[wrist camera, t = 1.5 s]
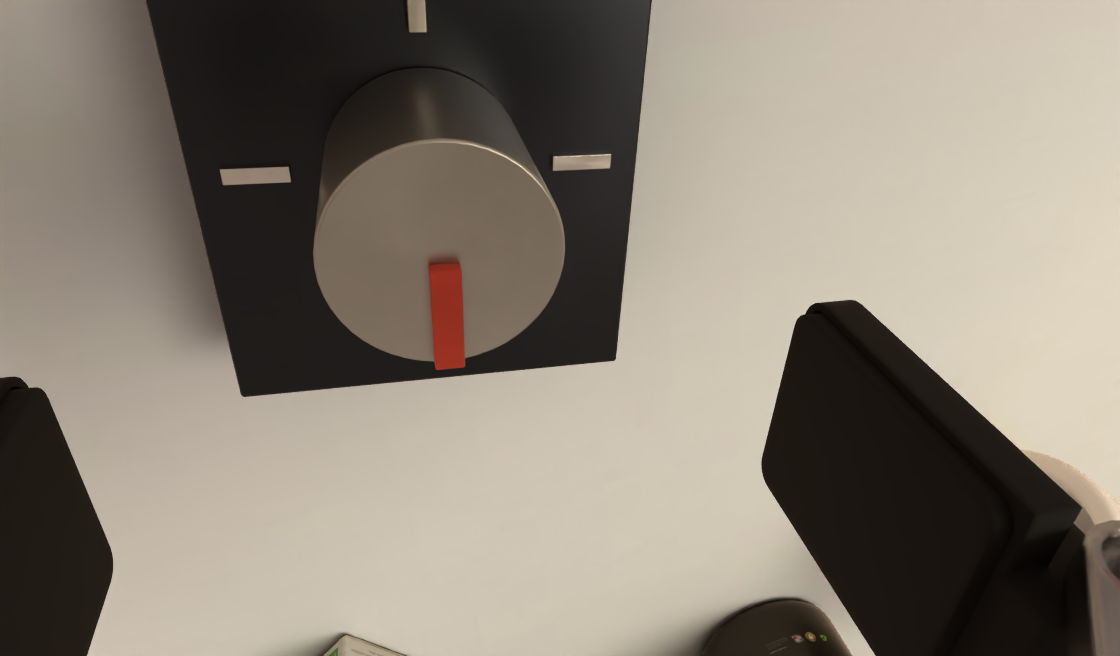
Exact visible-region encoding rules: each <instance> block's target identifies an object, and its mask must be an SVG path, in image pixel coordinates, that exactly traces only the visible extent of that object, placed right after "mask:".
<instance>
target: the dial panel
mask: <svg viewBox="0 0 1120 656" xmlns="http://www.w3.org/2000/svg"><path fill="white" fill-rule="evenodd" d="M651 3H652V0H146V4H147V8H148V12H149V16H150V21H151V25H152V29H153V33H154V37H155V41H156V45H157V50H158V54H159V58H160V62H161V66H162V70H163V74H164V78H165V83H166V87H167V91H168V95H169V99H170V103H171V107H172V112H173V116H174V120H175V124H176V128H177V132H178V136H179V141H180V145H181V149H182V153H183V157H184V161H185V165H186V169H187V174H188V178H189V182H190V186H191V190H192V194H193V198H194V203H195V207H196V211H197V215H198V219H199V223H200V227H201V231H202V236H203V240H204V244H205V248H206V252H207V256H208V260H209V265H210V269H211V273H212V277H213V281H214V285H215V289H216V293H217V298H218V302H219V306H220V310H221V314H222V318H223V322H224V327H225V331H226V335H227V339H228V343H229V347H230V351H231V356H232V360H233V364H234V368H235V372H236V376H237V380H238V384H239V389H240V393H241V395H242V397H249V396H259V395H269V394H280V393H290V392H300V391H310V390H320V389H331V388H341V387H351V386H361V385H372V384H382V383H392V382H402V381H412V380H423V379H433V378H443V377H453V376H463V375H474V374H484V373H494V372H504V371H515V370H525V369H535V368H545V367H555V366H566V365H576V364H586V363H596V362H607V361H614V360H615V359H616V352H617V342H618V332H619V322H620V312H621V302H622V292H623V282H624V272H625V262H626V252H627V242H628V232H629V222H630V213H631V203H632V193H633V183H634V173H635V163H636V153H637V143H638V133H639V123H640V113H641V103H642V93H643V83H644V73H645V63H646V53H647V43H648V33H649V23H650V13H651ZM410 68H435V69H440V70H445V71H449V72H452V73H456V74H459V75H461V76H464V77H466V78H468V79H470V80H472V81H474V82H475V83H477V84H478V85H480V86H481V87H483V88H484V89H486V90H487V91H488V92H489V93H490V94H491V95H493V96H494V97H495V98H496V99H497V101H498V102H499V103H500V104H501V105H502V106H503V107H504V109H505V110H506V112H507V113H508V115H509V116H510V118H511V120H512V122H513V124H514V126H515V127H516V129H517V131H518V133H519V135H520V137H521V139H522V141H523V143H524V145H525V146H526V148H527V150H528V152H529V154H530V156H531V158H532V160H533V162H534V164H535V166H536V167H537V169H538V171H539V173H540V175H541V177H542V179H543V181H544V183H545V185H546V187H547V188H548V190H549V192H550V194H551V196H552V198H553V200H554V202H555V204H556V206H557V208H558V211H559V214H560V217H561V220H562V224H563V230H564V236H565V255H564V264H563V268H562V272H561V276H560V279H559V282H558V284H557V286H556V289H555V291H554V293H553V295H552V297H551V299H550V300H549V302H548V304H547V305H546V307H545V308H544V309H543V311H542V312H541V313H540V315H539V316H538V317H537V318H536V319H535V320H534V321H533V322H532V323H531V324H530V325H529V326H528V327H527V328H526V329H525V330H523V331H522V332H521V333H520V334H518V335H517V336H516V337H514V338H513V339H511V340H509V341H508V342H506V343H505V344H503V345H501V346H499V347H497V348H495V349H493V350H490V351H488V352H485V353H482V354H480V355H476V356H472V357H468V358H465V367H463V368H452V369H442V370H436V368H435V362H434V361H419V360H413V359H408V358H403V357H400V356H396V355H393V354H389V353H387V352H385V351H382V350H380V349H378V348H375V347H374V346H372V345H370V344H368V343H367V342H365V341H363V340H362V339H360V338H359V337H358V336H356V335H355V334H354V333H352V332H351V331H350V330H349V329H348V328H347V327H346V326H345V325H344V324H343V323H342V322H341V321H340V320H339V319H338V318H337V316H336V315H335V314H334V312H333V311H332V310H331V309H330V307H329V305H328V303H327V302H326V300H325V298H324V296H323V294H322V292H321V289H320V287H319V284H318V281H317V277H316V273H315V269H314V258H313V247H314V235H315V226H316V217H317V208H318V199H319V190H320V181H321V172H322V163H323V154H324V146H325V142H326V137H327V134H328V131H329V128H330V126H331V123H332V121H333V119H334V118H335V116H336V114H337V112H338V111H339V109H340V108H341V107H342V106H343V104H344V103H345V102H346V100H347V99H348V98H349V97H351V96H352V95H353V94H354V93H355V92H356V91H357V90H358V89H360V88H361V87H362V86H364V85H365V84H367V83H368V82H370V81H372V80H374V79H376V78H378V77H380V76H382V75H385V74H388V73H391V72H394V71H398V70H403V69H410Z"/></svg>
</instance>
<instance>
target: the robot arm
mask: <svg viewBox="0 0 1120 656" xmlns="http://www.w3.org/2000/svg"><path fill="white" fill-rule="evenodd" d="M762 473H763V477H764V480H765V482H766V484H767V486H768V488H769V489H770V491H771V492H772V494H773V496H774V497H775V499H776V500H777V502H778V503H779V505H780V507H781V508H782V510H783V511H784V513H785V514H786V516H787V518H788V519H789V521H790V522H791V524H792V525H793V527H794V528H795V530H796V532H797V533H798V535H799V536H800V538H801V539H802V541H803V543H804V544H805V546H806V547H807V549H808V550H809V552H810V554H811V555H812V557H813V558H814V560H815V561H816V563H817V564H818V566H819V568H820V569H821V571H822V572H823V574H824V575H825V577H826V579H827V580H828V582H829V583H830V585H831V586H832V588H833V590H834V591H835V593H836V594H837V596H838V597H839V599H840V600H841V602H842V604H843V605H844V607H845V608H846V610H847V611H848V613H849V615H850V616H851V618H852V619H853V621H854V622H855V624H856V626H857V627H858V629H859V630H860V632H861V633H862V635H863V636H864V638H865V640H866V641H867V643H868V644H869V646H870V647H871V649H872V651H873V652H874V654H875V655H876V656H1120V520H1110V521H1106V522H1103V523H1099V524H1096V525H1095V526H1094V527H1093V528H1092V529H1091V530H1090V531H1088V532H1087V534H1086V535H1085V534H1084V533H1083V532H1082V531H1081V530H1080V529H1079V528H1078V527H1077V526H1076V525H1075V524H1074V522H1075V520H1076V518H1077V516H1078V515H1079V513H1080V511H1081V510H1082V508H1083V507H1081V506H1080V505H1079V504H1078V503H1077V502H1076V501H1075V500H1074V499H1073V498H1072V497H1071V496H1069V495H1068V494H1067V493H1066V492H1065V491H1064V490H1063V489H1062V488H1061V487H1060V486H1059V485H1058V484H1056V483H1055V482H1054V481H1053V480H1052V479H1051V478H1050V477H1049V476H1048V475H1047V474H1046V473H1044V472H1043V471H1042V470H1041V469H1040V468H1039V467H1038V466H1037V465H1036V464H1035V463H1034V462H1032V461H1031V460H1030V459H1029V458H1028V457H1027V456H1026V455H1025V454H1024V453H1023V452H1022V451H1021V450H1019V449H1018V448H1017V447H1016V446H1015V445H1014V444H1013V443H1012V442H1011V441H1010V440H1009V439H1007V438H1006V437H1005V436H1004V435H1003V434H1002V433H1001V432H1000V431H999V430H998V429H997V428H995V427H994V426H993V425H992V424H991V423H990V422H989V421H988V420H987V419H986V418H985V417H984V416H982V415H981V414H980V413H979V412H978V411H977V410H976V409H975V408H974V407H973V406H972V405H970V404H969V403H968V402H967V401H966V400H965V399H964V398H963V397H962V396H961V395H960V394H958V393H957V392H956V391H955V390H954V389H953V388H952V387H951V386H950V385H949V384H948V383H946V382H945V381H944V380H943V379H942V378H941V377H940V376H939V375H938V374H937V373H936V372H935V371H933V370H932V369H931V368H930V367H929V366H928V365H927V364H926V363H925V362H924V361H923V360H921V359H920V358H919V357H918V356H917V355H916V354H915V353H914V352H913V351H912V350H911V349H909V348H908V347H907V346H906V345H905V344H904V343H903V342H902V341H901V340H900V339H899V338H898V337H896V336H895V335H894V334H893V333H892V332H891V331H890V330H889V329H888V328H887V327H886V326H884V325H883V324H882V323H881V322H880V321H879V320H878V319H877V318H876V317H875V316H874V315H872V314H871V313H870V312H869V311H868V310H867V309H866V308H865V307H864V306H863V305H862V304H860V303H859V302H857V301H854V300H845V301H834V302H823V303H815V304H813V305H811V306H810V307H809V309H808V310H807V312H806V314H805V315H802V316H800V317H799V318H798V319H797V321H796V324H795V327H794V331H793V335H792V339H791V343H790V347H789V351H788V355H787V359H786V363H785V367H784V371H783V375H782V379H781V383H780V388H779V392H778V396H777V400H776V404H775V408H774V412H773V416H772V420H771V424H770V428H769V432H768V436H767V440H766V444H765V448H764V452H763V456H762ZM112 573H113V557H112V552H111V548H110V546H109V543H108V541H107V538H106V536H105V533H104V531H103V529H102V526H101V524H100V521H99V519H98V517H97V514H96V512H95V509H94V507H93V505H92V502H91V500H90V497H89V495H88V493H87V490H86V488H85V485H84V483H83V481H82V478H81V476H80V473H79V471H78V469H77V466H76V464H75V461H74V459H73V457H72V454H71V452H70V449H69V447H68V445H67V442H66V440H65V437H64V435H63V433H62V430H61V428H60V425H59V423H58V421H57V418H56V416H55V413H54V411H53V409H52V406H51V404H50V401H49V399H48V397H47V395H46V393H45V392H44V391H43V390H42V389H41V388H37V387H36V388H28V386H27V384H26V383H25V382H24V381H23V380H22V379H21V378H18V377H5V378H0V656H87V654H88V650H89V647H90V644H91V641H92V638H93V635H94V632H95V629H96V626H97V623H98V620H99V617H100V613H101V610H102V607H103V604H104V601H105V598H106V595H107V592H108V589H109V586H110V583H111V579H112Z"/></svg>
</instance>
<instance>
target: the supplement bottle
mask: <svg viewBox="0 0 1120 656" xmlns="http://www.w3.org/2000/svg"><path fill="white" fill-rule="evenodd" d="M702 656H852V654H851V653H850V651H849V649H848V648H847V646H846V644H845V643H844V641H843V640H842V638H841V636H840V635H839V634H838V632H837V630H836V629H835V627H834V626H833V624H832V623H831V621H830V620H829V618H828V617H827V616H826V614H825V613H824V612H822V611H821V610H820V609H819V608H817V607H815V606H814V605H811V604H809V603H806V602H802V601H796V600H782V601H775V602H770V603H766V604H762V605H760V606H757V607H754V608H752V609H749V610H747V611H745V612H743V613H741V614H739V615H738V616H736V617H734V618H733V619H732V620H730V621H729V622H727V623H726V624H725V625H723V626H722V627H721V628H720V629H719V630H718V631H717V632H716V633H715V634H714V635H713V637H712V638H711V639H710V641H709V642H708V644H707V645H706V647H705V649H704V652H703V655H702Z"/></svg>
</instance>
